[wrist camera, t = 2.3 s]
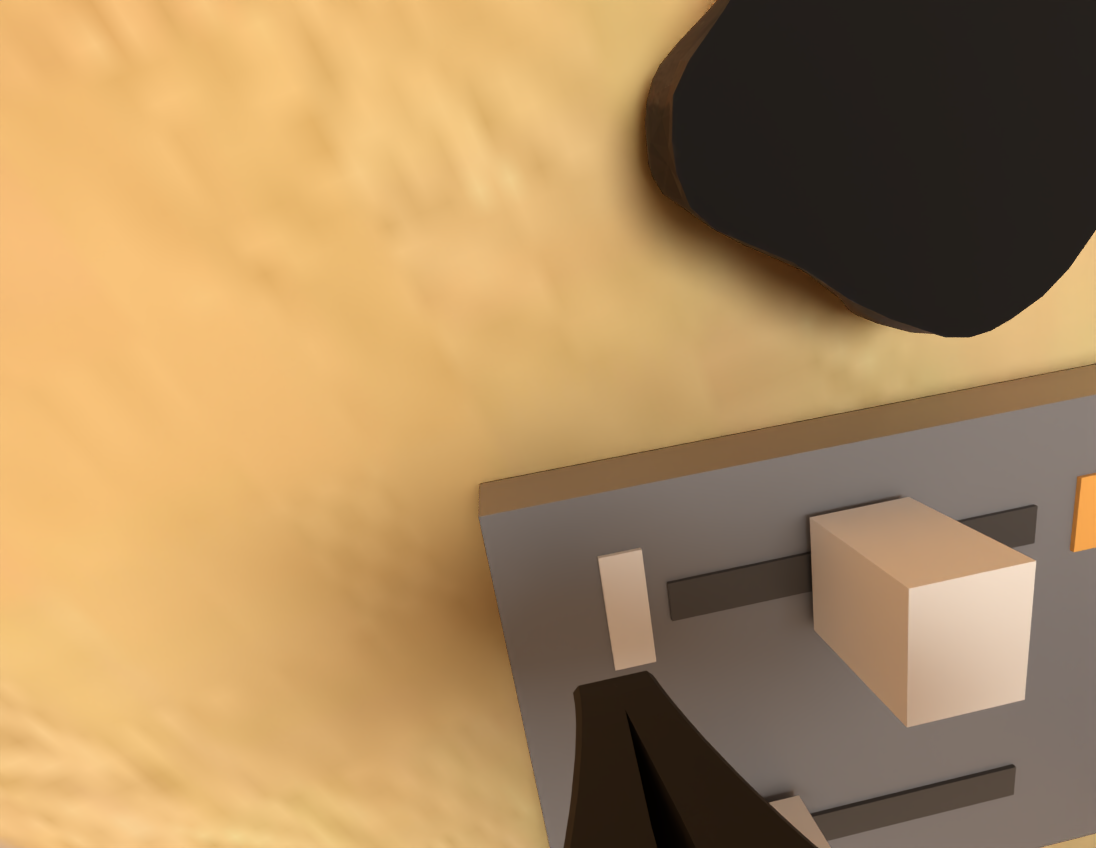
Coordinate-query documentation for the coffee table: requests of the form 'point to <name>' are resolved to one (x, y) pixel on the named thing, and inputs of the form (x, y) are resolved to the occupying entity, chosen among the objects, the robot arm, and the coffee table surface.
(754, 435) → the grey flat block
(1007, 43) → the black sponge
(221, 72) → the coffee table surface
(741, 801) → the robot arm
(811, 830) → the block
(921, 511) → the block
